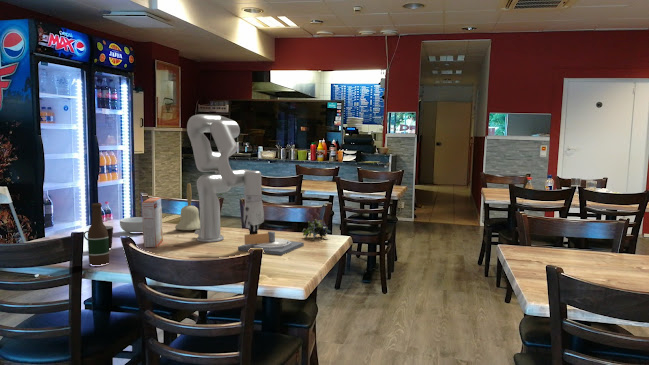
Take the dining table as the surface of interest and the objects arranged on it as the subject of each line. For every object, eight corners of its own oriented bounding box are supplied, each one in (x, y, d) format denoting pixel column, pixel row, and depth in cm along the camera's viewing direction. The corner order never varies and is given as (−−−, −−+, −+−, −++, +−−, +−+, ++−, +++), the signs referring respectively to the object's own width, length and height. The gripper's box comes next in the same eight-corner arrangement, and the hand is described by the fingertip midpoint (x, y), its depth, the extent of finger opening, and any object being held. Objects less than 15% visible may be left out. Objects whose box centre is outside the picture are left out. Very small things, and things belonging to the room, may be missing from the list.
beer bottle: (92, 262, 198) (90, 202, 195) (112, 261, 198) (110, 202, 196) (85, 267, 190) (82, 205, 188) (106, 266, 191) (103, 204, 188)
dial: (249, 249, 211) (249, 237, 211) (241, 243, 224) (240, 231, 223) (291, 245, 219) (291, 233, 218) (281, 239, 232) (280, 228, 231)
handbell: (168, 231, 261) (167, 183, 259) (189, 226, 275) (188, 181, 272) (191, 233, 254) (189, 185, 252) (211, 228, 268) (209, 182, 265)
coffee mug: (118, 248, 221) (117, 226, 220) (104, 253, 213) (103, 230, 212) (97, 246, 225) (96, 225, 224) (82, 251, 217) (81, 228, 216)
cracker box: (150, 241, 236) (148, 197, 234) (163, 241, 237) (162, 197, 235) (142, 248, 222) (140, 201, 220) (156, 247, 223) (155, 201, 221)
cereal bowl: (147, 236, 249) (147, 222, 248) (114, 236, 249) (114, 222, 249) (159, 229, 266) (158, 216, 265) (128, 229, 266) (127, 216, 265)
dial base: (238, 250, 218) (237, 244, 218) (262, 241, 236) (262, 236, 236) (281, 255, 209) (281, 249, 209) (303, 245, 227) (303, 240, 227)
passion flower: (320, 247, 247) (335, 229, 245) (312, 248, 237) (327, 228, 235) (304, 233, 251) (318, 214, 249) (295, 233, 241) (310, 213, 239)
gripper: (251, 201, 212) (251, 243, 214) (269, 197, 225) (269, 237, 227) (236, 200, 215) (236, 242, 217) (255, 196, 228) (255, 235, 230)
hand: (253, 239), depth 222 cm, fingers closed
